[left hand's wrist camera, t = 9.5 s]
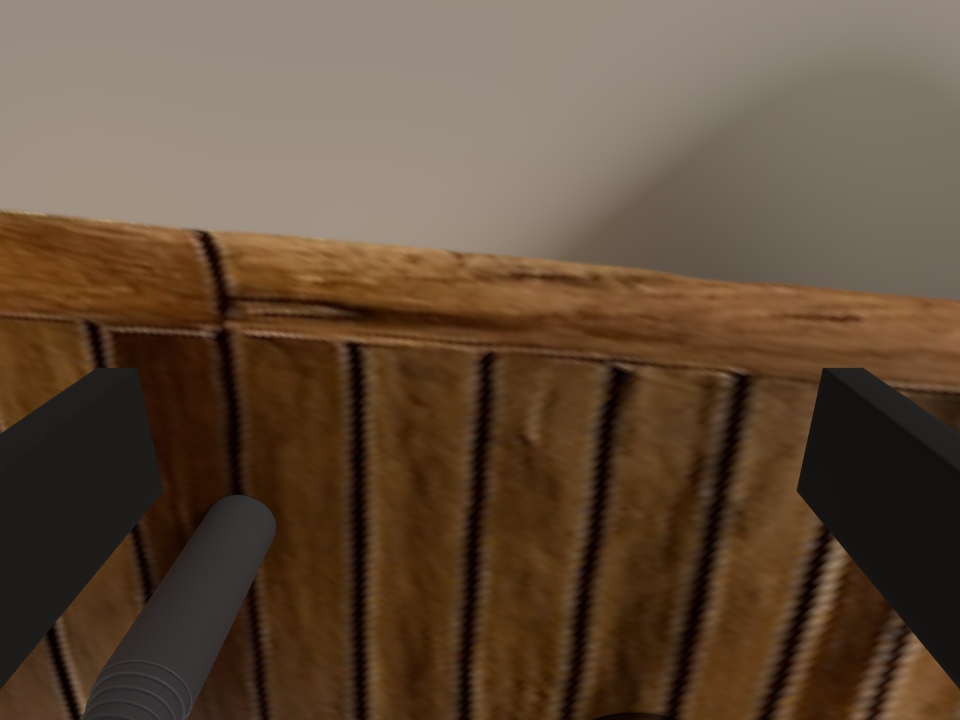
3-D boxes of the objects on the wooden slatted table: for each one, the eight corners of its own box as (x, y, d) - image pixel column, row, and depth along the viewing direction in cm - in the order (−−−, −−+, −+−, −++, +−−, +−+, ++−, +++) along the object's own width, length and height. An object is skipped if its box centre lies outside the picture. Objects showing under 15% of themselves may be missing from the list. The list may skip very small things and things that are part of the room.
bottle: (193, 523, 47) (7, 794, 28) (235, 482, 46) (69, 738, 27) (248, 562, 48) (104, 846, 30) (290, 523, 47) (167, 795, 28)
